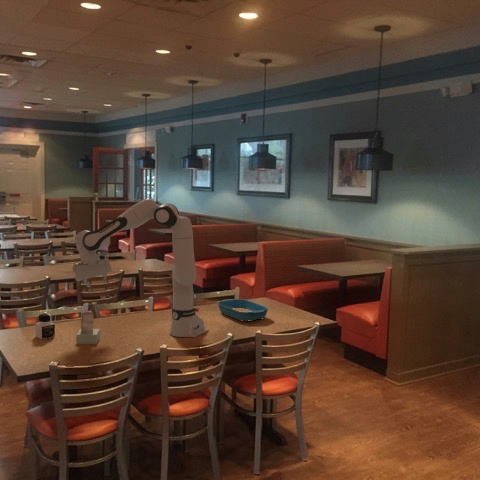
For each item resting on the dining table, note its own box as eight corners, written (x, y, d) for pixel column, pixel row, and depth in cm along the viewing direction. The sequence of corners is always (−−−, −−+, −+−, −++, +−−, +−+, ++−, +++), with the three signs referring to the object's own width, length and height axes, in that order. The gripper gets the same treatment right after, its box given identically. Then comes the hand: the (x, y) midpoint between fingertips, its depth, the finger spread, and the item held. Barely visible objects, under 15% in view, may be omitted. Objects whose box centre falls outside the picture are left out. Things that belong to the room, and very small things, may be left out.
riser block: (80, 338, 278) (80, 328, 278) (99, 338, 279) (99, 328, 279) (76, 344, 268) (76, 334, 268) (96, 344, 270) (96, 334, 269)
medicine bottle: (41, 339, 272) (41, 316, 271) (35, 336, 277) (35, 314, 275) (55, 337, 277) (54, 314, 276) (48, 333, 282) (48, 311, 281)
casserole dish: (211, 311, 342) (211, 300, 341) (240, 307, 354) (241, 296, 354) (243, 325, 312) (244, 313, 311) (274, 321, 324) (274, 309, 323)
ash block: (81, 330, 274) (81, 311, 273) (90, 329, 277) (91, 310, 275) (83, 333, 270) (83, 314, 269) (93, 332, 272) (93, 313, 271)
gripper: (73, 263, 280) (81, 288, 279) (108, 255, 293) (116, 279, 292) (69, 266, 284) (77, 290, 284) (103, 257, 298) (111, 281, 297)
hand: (97, 284), depth 288 cm, fingers open, 8 cm apart
